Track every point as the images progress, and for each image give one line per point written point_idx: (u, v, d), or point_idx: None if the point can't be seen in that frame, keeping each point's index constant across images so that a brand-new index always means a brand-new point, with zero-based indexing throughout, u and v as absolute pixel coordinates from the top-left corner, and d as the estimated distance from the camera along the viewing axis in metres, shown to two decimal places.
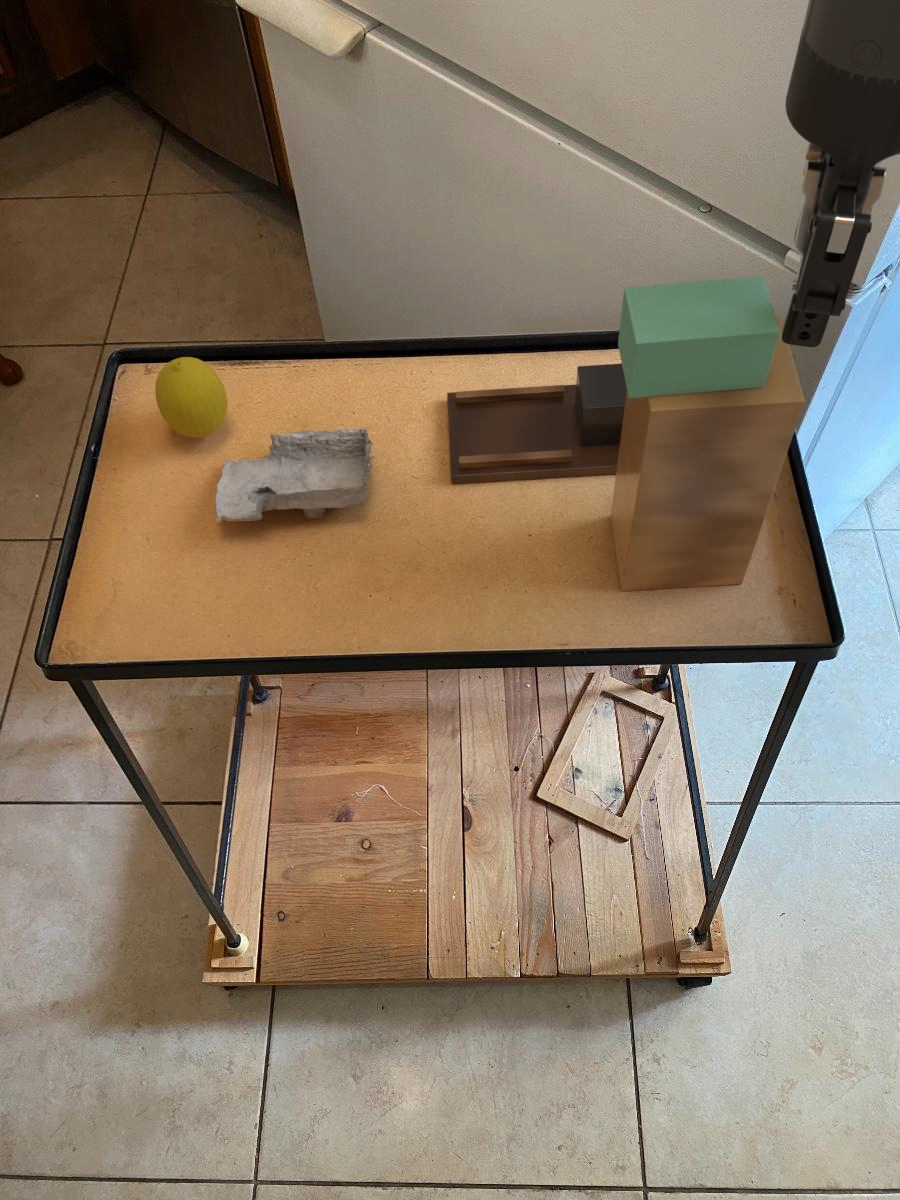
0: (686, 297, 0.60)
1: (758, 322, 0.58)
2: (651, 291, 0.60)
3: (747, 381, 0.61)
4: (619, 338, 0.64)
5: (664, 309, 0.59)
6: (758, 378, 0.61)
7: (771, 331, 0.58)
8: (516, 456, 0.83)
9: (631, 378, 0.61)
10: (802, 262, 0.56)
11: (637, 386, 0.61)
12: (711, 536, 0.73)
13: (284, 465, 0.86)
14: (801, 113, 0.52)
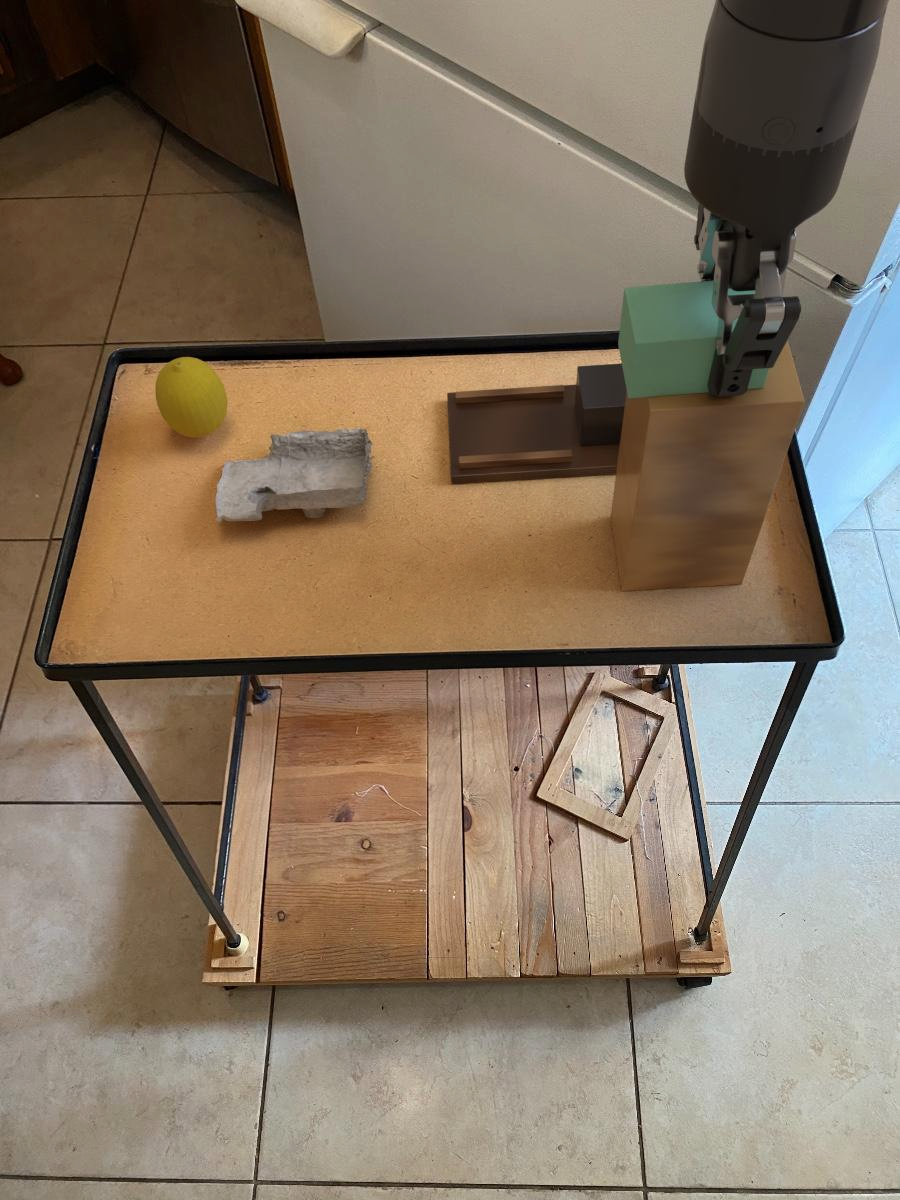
0: (686, 297, 0.60)
1: None
2: (651, 291, 0.60)
3: None
4: (619, 338, 0.64)
5: (664, 309, 0.59)
6: (758, 378, 0.61)
7: None
8: (516, 456, 0.83)
9: (630, 378, 0.61)
10: (724, 328, 0.56)
11: (637, 386, 0.61)
12: (711, 536, 0.73)
13: (284, 465, 0.86)
14: (711, 191, 0.50)
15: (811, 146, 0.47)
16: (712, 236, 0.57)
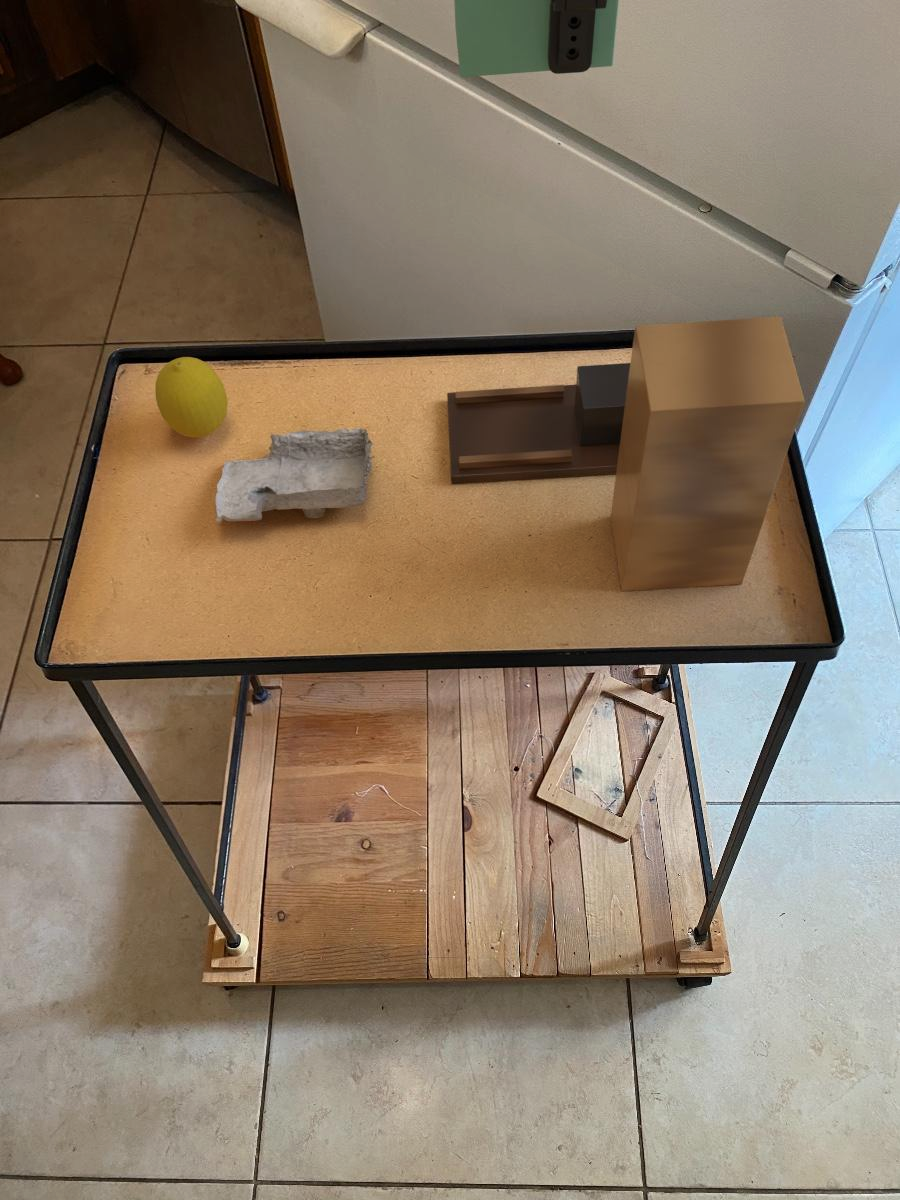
0: None
1: None
2: None
3: (592, 56, 0.54)
4: (455, 17, 0.57)
5: None
6: (604, 51, 0.54)
7: None
8: (516, 456, 0.83)
9: (459, 46, 0.54)
10: None
11: (468, 58, 0.54)
12: (711, 536, 0.73)
13: (284, 465, 0.86)
14: None
15: None
16: None
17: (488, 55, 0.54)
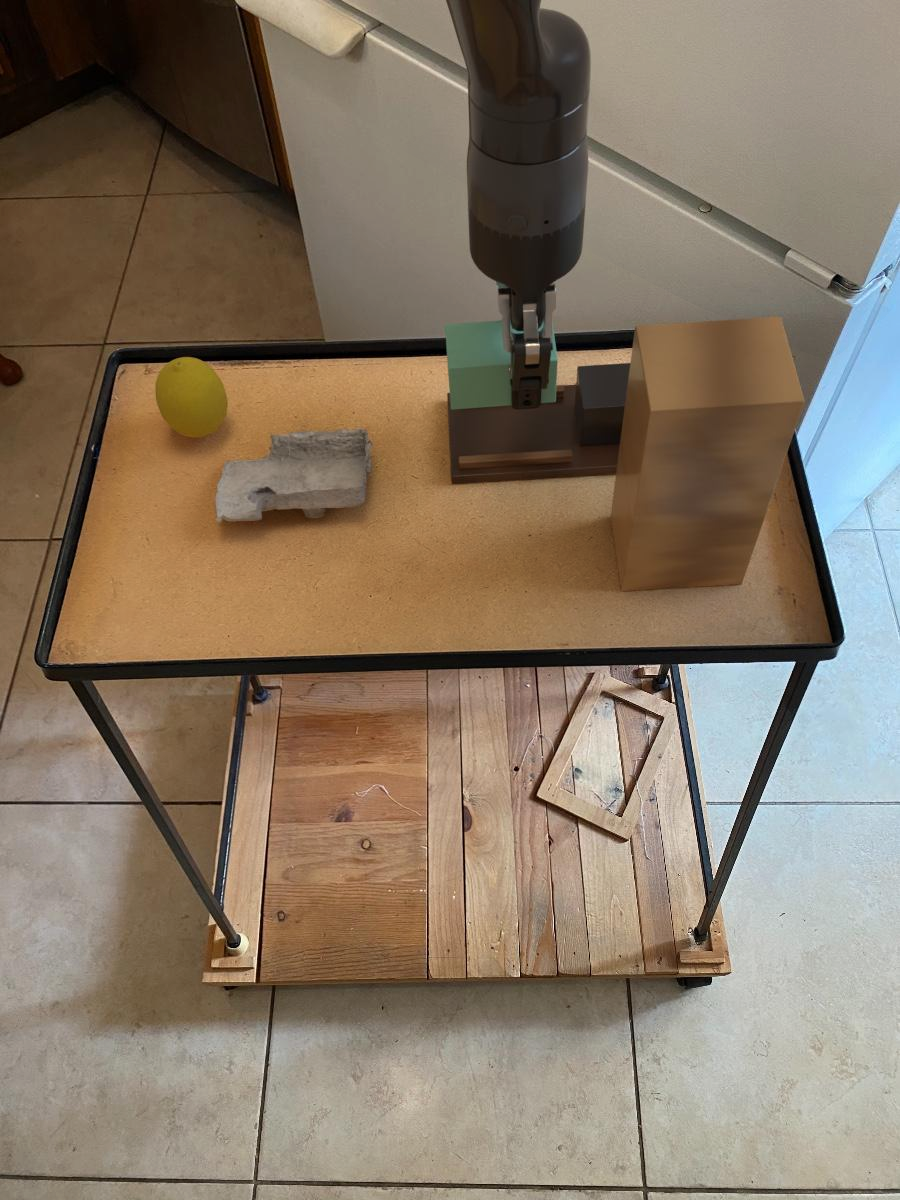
0: (491, 332, 0.78)
1: None
2: (465, 327, 0.78)
3: (541, 397, 0.80)
4: None
5: (473, 342, 0.78)
6: (549, 395, 0.79)
7: (550, 360, 0.76)
8: (516, 456, 0.83)
9: None
10: (511, 358, 0.75)
11: (456, 400, 0.79)
12: (711, 536, 0.73)
13: (284, 465, 0.86)
14: (483, 261, 0.68)
15: (543, 233, 0.65)
16: None
17: (470, 398, 0.79)
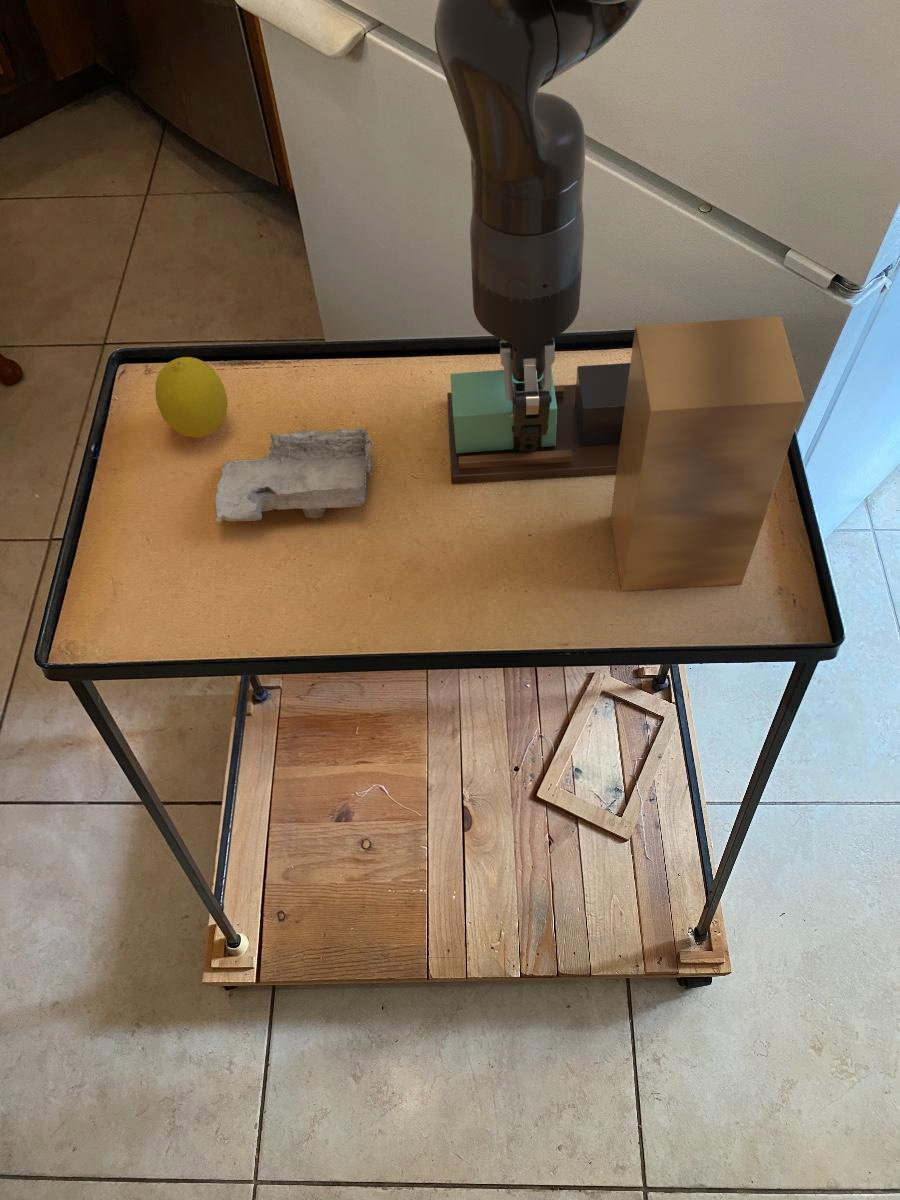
0: (493, 381, 0.82)
1: None
2: (469, 376, 0.83)
3: None
4: None
5: (477, 390, 0.82)
6: (549, 440, 0.84)
7: (550, 408, 0.81)
8: (516, 456, 0.83)
9: (455, 439, 0.83)
10: (513, 406, 0.79)
11: (461, 445, 0.84)
12: (711, 536, 0.73)
13: (284, 465, 0.86)
14: (485, 320, 0.73)
15: (541, 295, 0.69)
16: None
17: (474, 443, 0.84)
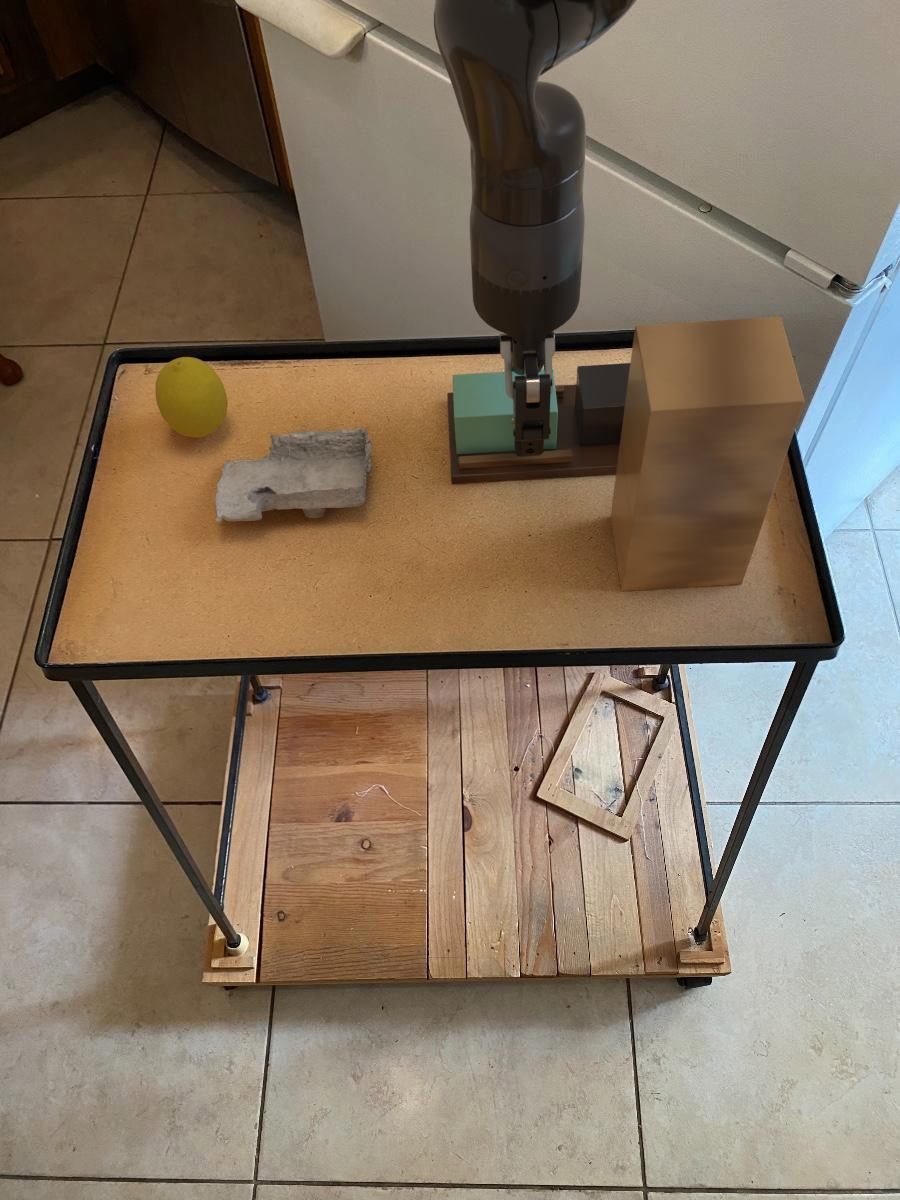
0: (495, 383, 0.83)
1: None
2: (471, 378, 0.83)
3: None
4: None
5: (478, 392, 0.82)
6: (550, 442, 0.84)
7: (551, 411, 0.81)
8: (516, 456, 0.83)
9: None
10: (514, 405, 0.77)
11: (461, 446, 0.84)
12: (711, 536, 0.73)
13: (284, 465, 0.86)
14: (485, 312, 0.72)
15: (541, 287, 0.69)
16: None
17: (474, 444, 0.84)
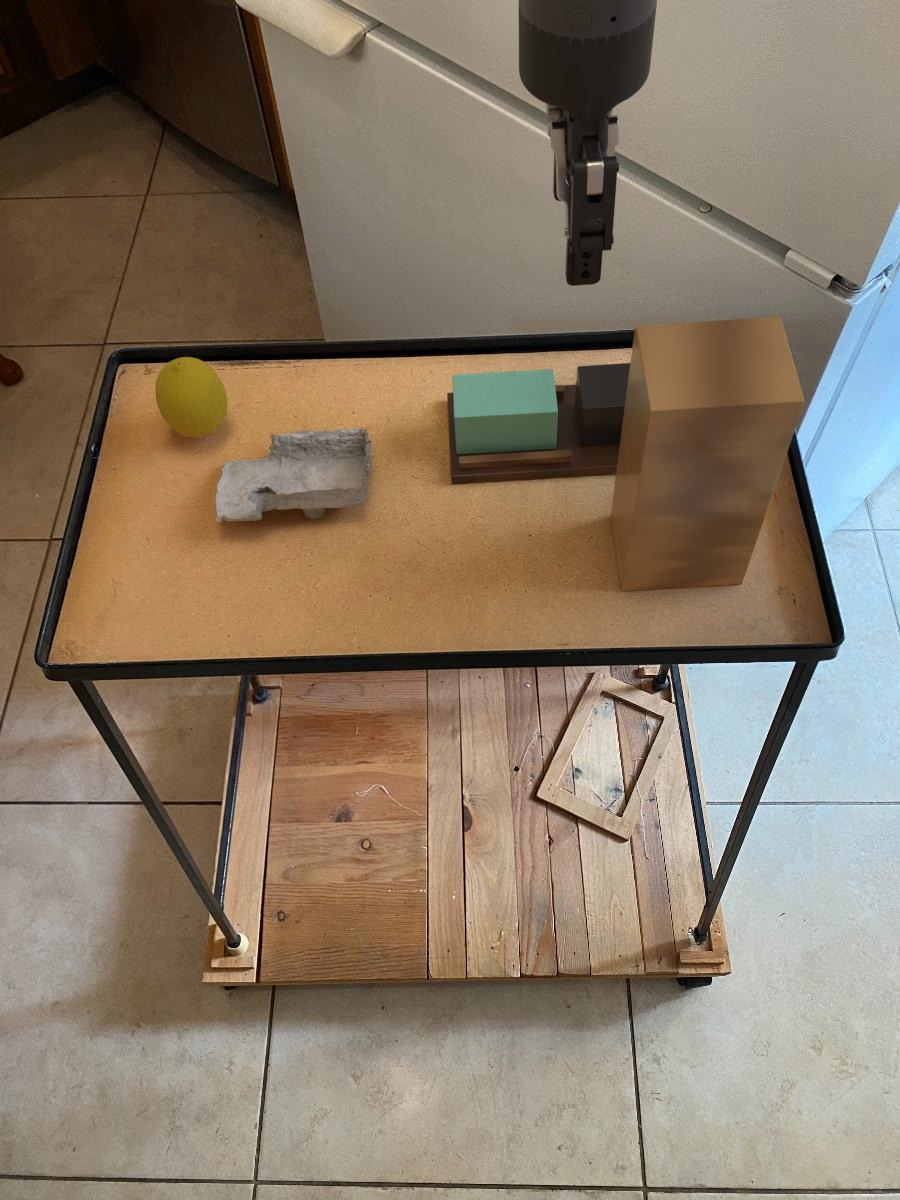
0: (495, 383, 0.83)
1: (543, 404, 0.81)
2: (471, 378, 0.83)
3: (542, 444, 0.84)
4: None
5: (478, 392, 0.82)
6: (550, 442, 0.84)
7: (551, 411, 0.81)
8: (516, 456, 0.83)
9: None
10: (568, 210, 0.64)
11: (461, 446, 0.84)
12: (711, 536, 0.73)
13: (284, 465, 0.86)
14: (536, 80, 0.59)
15: (609, 34, 0.55)
16: None
17: (474, 444, 0.84)
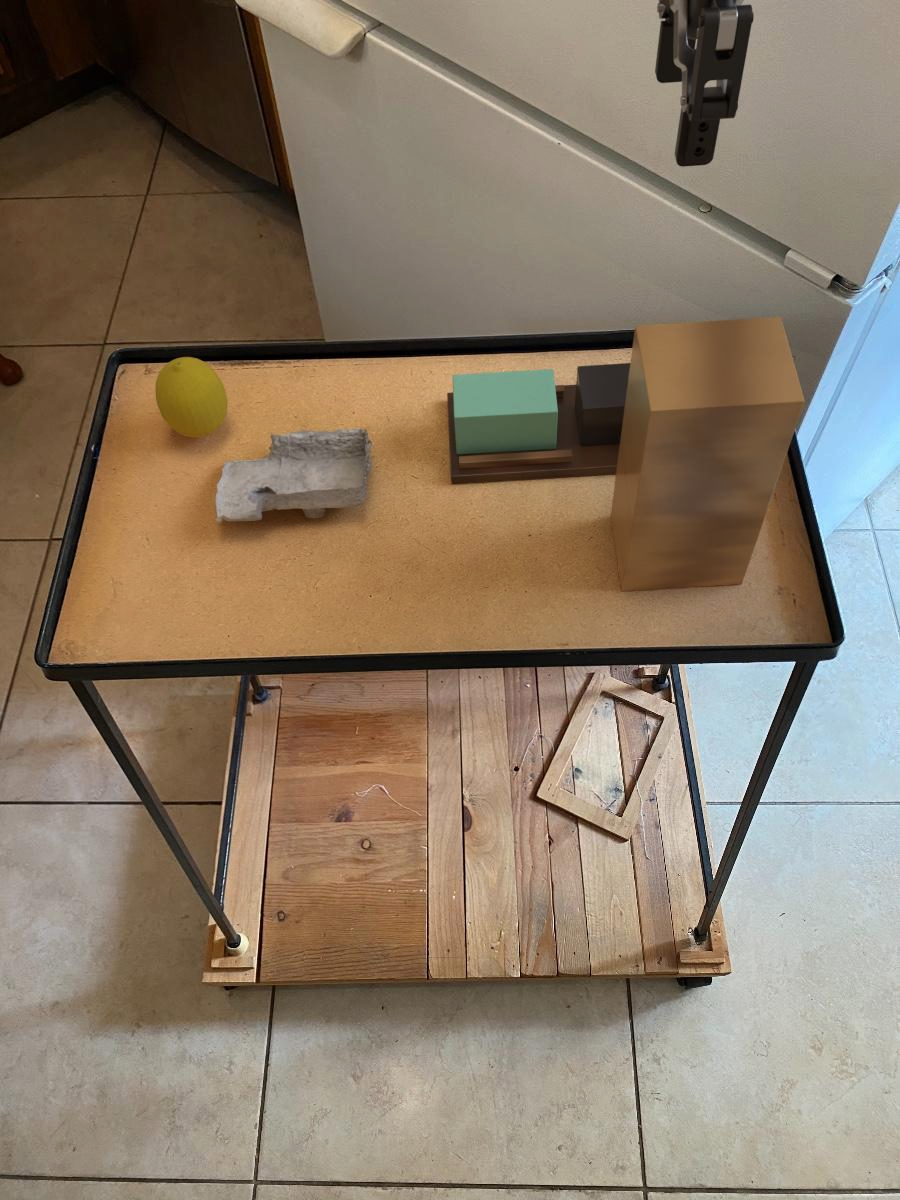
0: (495, 383, 0.83)
1: (543, 404, 0.81)
2: (471, 378, 0.83)
3: (542, 444, 0.84)
4: None
5: (478, 392, 0.82)
6: (550, 442, 0.84)
7: (551, 411, 0.81)
8: (516, 456, 0.83)
9: None
10: (687, 75, 0.59)
11: (461, 446, 0.84)
12: (711, 536, 0.73)
13: (284, 465, 0.86)
14: None
15: None
16: None
17: (474, 444, 0.84)
